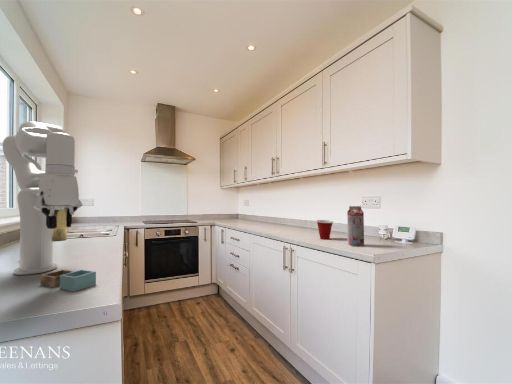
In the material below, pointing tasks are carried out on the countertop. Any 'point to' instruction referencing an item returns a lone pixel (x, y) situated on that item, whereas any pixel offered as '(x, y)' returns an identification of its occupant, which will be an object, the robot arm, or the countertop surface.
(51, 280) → the socket block
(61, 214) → the gold domed peg
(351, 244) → the juice carton
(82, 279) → the block
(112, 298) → the countertop surface
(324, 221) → the plastic cup
